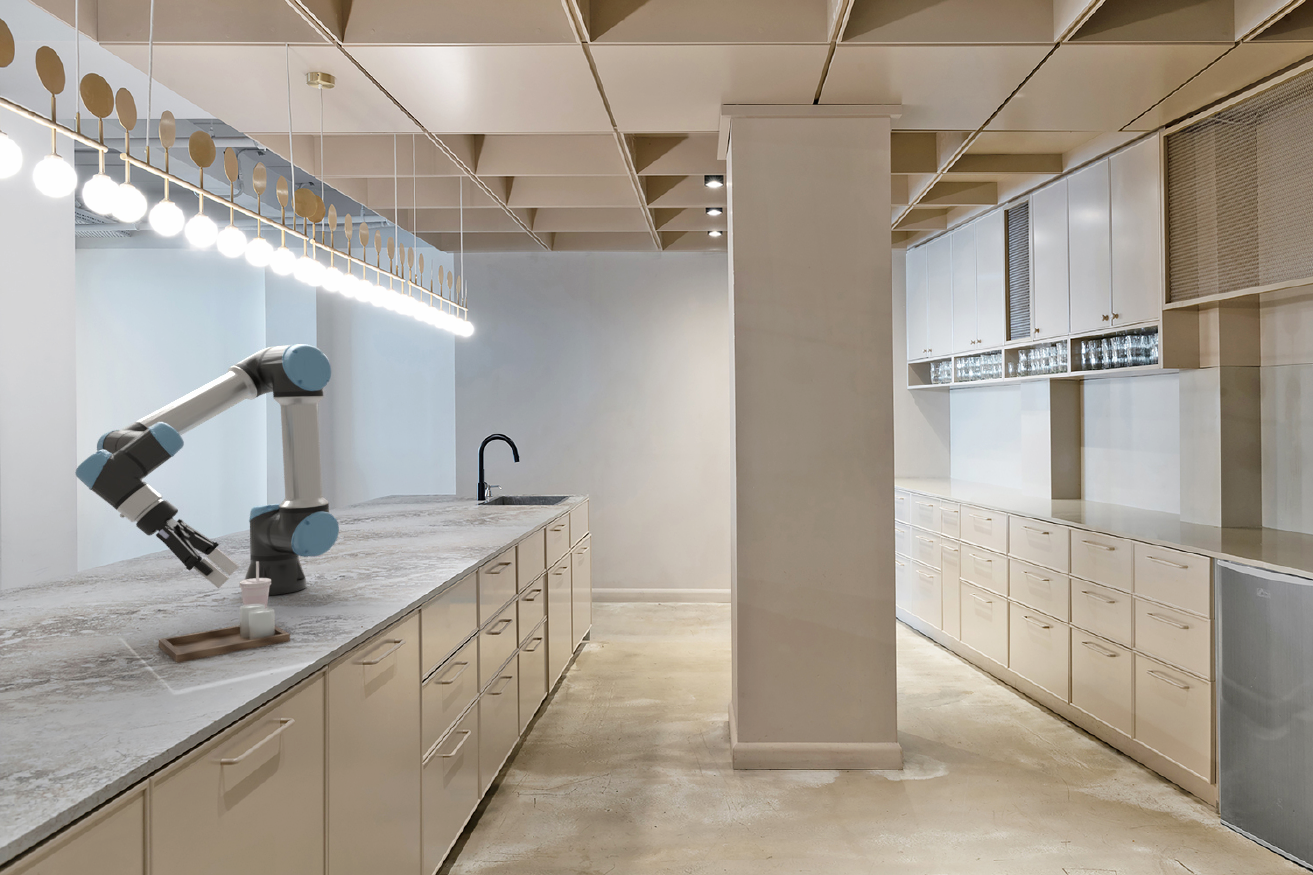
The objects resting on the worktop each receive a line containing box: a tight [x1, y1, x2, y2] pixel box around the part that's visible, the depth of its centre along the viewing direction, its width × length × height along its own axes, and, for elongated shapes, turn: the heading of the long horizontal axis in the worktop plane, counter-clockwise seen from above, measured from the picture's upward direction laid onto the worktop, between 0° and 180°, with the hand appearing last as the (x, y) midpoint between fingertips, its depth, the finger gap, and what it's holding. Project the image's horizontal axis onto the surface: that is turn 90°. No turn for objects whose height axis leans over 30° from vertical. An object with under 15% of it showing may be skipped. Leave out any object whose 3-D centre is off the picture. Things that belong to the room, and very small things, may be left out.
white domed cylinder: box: [249, 607, 276, 640], centre depth 155 cm, size 5×5×6 cm
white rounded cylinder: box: [239, 604, 265, 638], centre depth 159 cm, size 5×5×6 cm
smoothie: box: [238, 561, 271, 608], centre depth 170 cm, size 6×6×14 cm
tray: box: [158, 624, 291, 663], centre depth 153 cm, size 20×14×2 cm
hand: (229, 577), depth 167 cm, fingers open, 13 cm apart
